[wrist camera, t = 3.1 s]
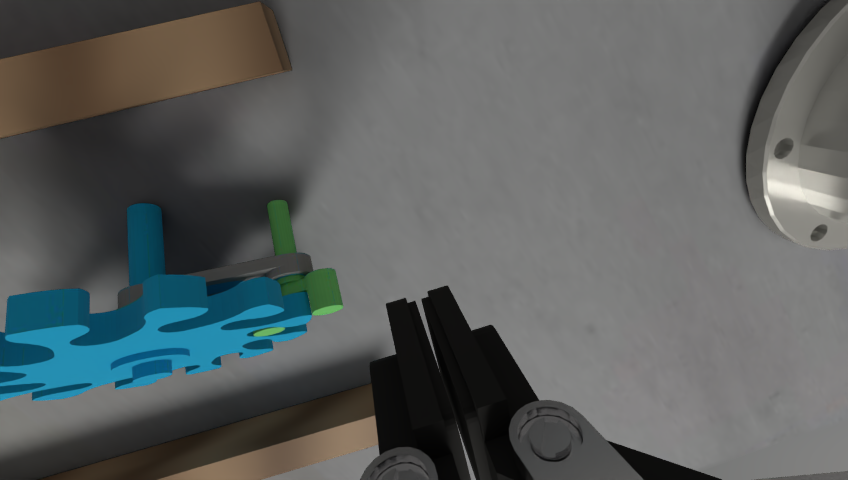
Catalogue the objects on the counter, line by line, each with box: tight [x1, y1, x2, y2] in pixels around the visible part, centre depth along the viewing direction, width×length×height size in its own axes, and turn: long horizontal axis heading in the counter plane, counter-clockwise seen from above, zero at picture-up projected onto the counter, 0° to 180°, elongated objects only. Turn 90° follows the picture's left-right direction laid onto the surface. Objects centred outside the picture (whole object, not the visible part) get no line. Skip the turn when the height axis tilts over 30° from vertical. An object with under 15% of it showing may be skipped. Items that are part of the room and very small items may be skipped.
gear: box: [0, 200, 343, 401], centre depth 13 cm, size 11×6×10 cm
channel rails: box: [0, 1, 378, 480], centre depth 15 cm, size 23×18×2 cm
